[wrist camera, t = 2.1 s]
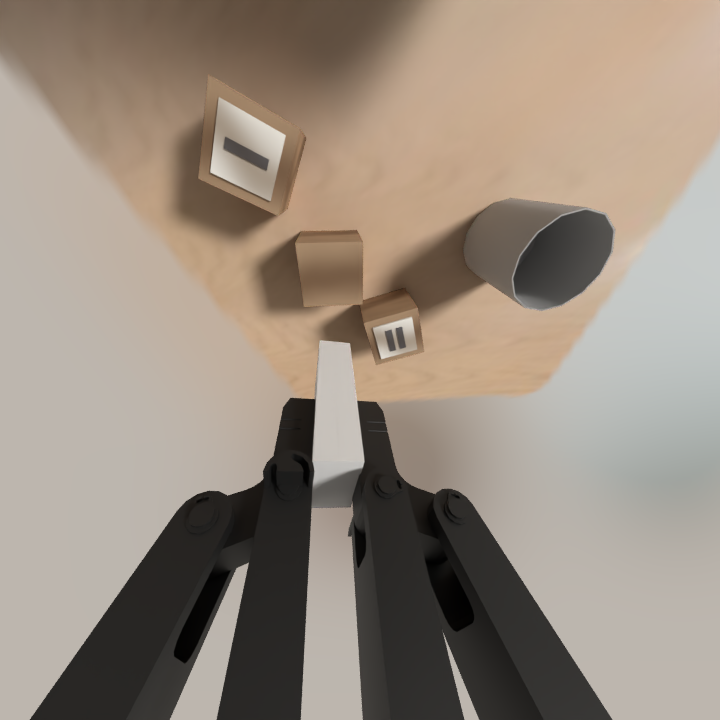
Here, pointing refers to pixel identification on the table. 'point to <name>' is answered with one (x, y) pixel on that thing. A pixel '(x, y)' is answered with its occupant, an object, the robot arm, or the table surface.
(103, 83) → the table surface
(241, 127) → the numbered block
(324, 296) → the plain block
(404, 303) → the numbered block
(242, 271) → the table surface
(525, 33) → the table surface
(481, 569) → the robot arm
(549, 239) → the cup
